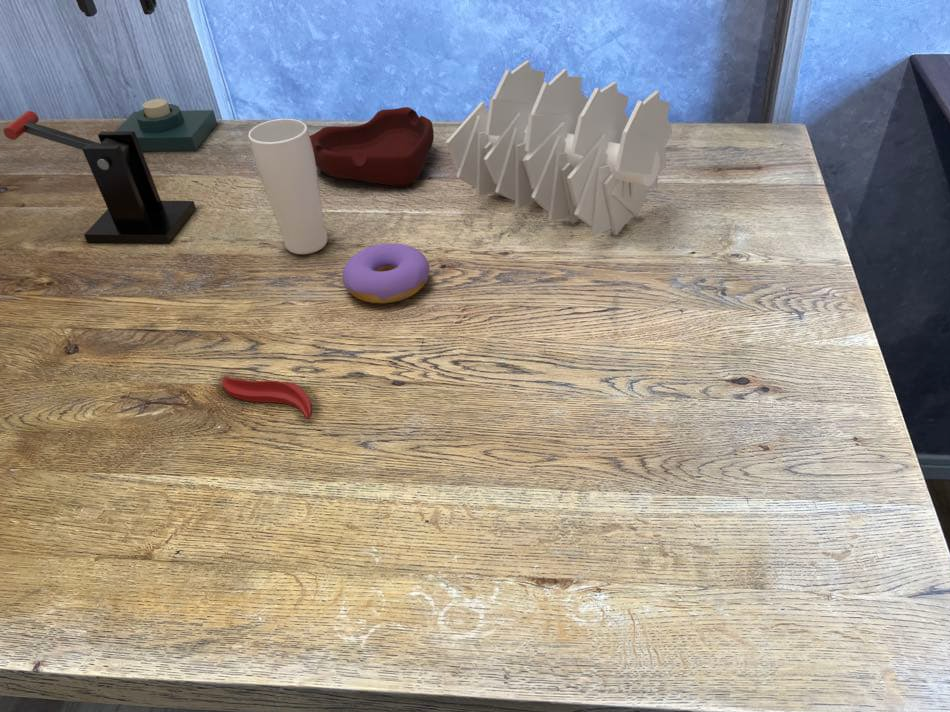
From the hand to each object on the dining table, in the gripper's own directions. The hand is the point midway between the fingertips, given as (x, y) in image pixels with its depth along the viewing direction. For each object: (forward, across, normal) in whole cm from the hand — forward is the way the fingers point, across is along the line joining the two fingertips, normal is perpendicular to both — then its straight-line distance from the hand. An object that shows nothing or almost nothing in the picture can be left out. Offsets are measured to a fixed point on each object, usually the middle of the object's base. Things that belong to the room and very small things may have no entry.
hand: (120, 14), depth 115 cm
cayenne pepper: (+19, -34, +60) cm, 71 cm away
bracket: (+18, -7, +26) cm, 33 cm away
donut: (+19, -43, +40) cm, 62 cm away
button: (+15, 0, -1) cm, 15 cm away
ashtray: (+19, -37, +11) cm, 43 cm away
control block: (+19, 0, -1) cm, 19 cm away
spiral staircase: (+19, -63, +23) cm, 70 cm away
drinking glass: (+19, -31, +31) cm, 48 cm away
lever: (+8, -2, +26) cm, 27 cm away
